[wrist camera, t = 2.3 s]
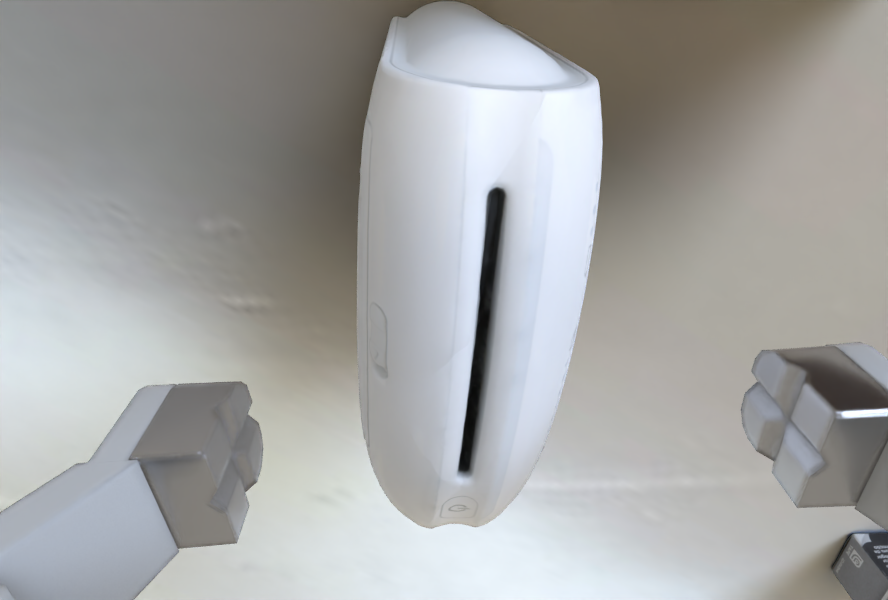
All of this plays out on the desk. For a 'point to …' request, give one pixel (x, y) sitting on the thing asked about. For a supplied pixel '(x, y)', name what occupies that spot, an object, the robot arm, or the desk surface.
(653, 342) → the desk surface
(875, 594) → the tape cartridge
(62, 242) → the desk surface
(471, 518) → the photo printer
